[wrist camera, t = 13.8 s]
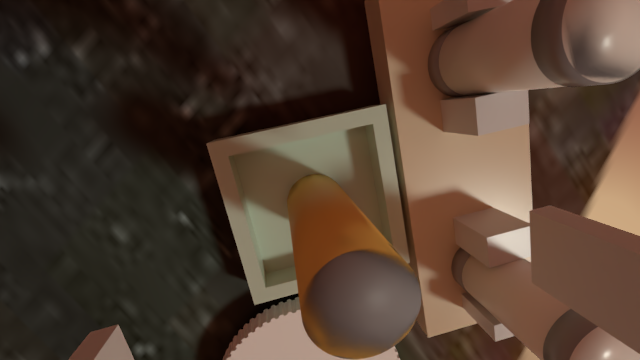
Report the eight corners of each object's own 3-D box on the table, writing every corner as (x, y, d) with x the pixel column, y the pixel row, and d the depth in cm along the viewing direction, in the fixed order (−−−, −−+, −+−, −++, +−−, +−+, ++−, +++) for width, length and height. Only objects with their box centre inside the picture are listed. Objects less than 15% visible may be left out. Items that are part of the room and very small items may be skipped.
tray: (214, 139, 20) (206, 143, 18) (373, 105, 21) (385, 104, 19) (256, 284, 23) (254, 305, 20) (396, 247, 24) (410, 262, 21)
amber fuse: (281, 181, 21) (288, 267, 9) (337, 168, 21) (412, 234, 10) (294, 234, 22) (315, 373, 10) (348, 221, 22) (428, 340, 11)
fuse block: (364, 1, 20) (478, -142, 9) (492, -23, 21) (748, -182, 9) (413, 316, 25) (520, 474, 14) (512, 287, 26) (686, 416, 15)
